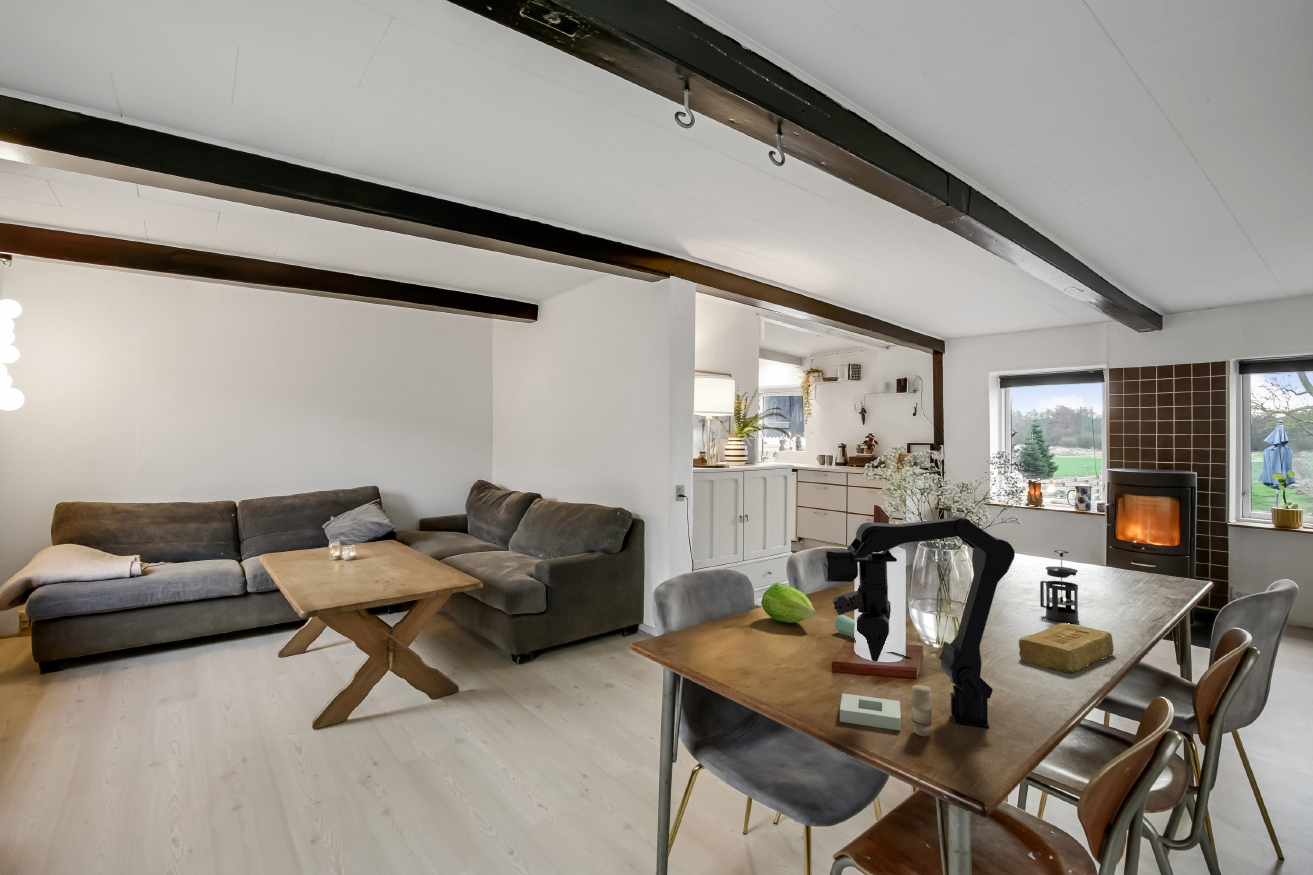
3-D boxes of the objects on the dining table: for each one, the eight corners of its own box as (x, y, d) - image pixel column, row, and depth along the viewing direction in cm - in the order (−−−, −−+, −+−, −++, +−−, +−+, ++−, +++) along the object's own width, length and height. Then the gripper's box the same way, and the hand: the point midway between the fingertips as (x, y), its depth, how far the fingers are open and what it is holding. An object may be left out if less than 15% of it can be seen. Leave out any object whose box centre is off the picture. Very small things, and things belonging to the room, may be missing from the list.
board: (899, 712, 134) (899, 700, 134) (900, 730, 125) (900, 718, 125) (842, 704, 138) (842, 693, 138) (839, 721, 130) (839, 709, 130)
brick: (1017, 664, 167) (1015, 638, 167) (1062, 645, 181) (1060, 621, 182) (1073, 676, 155) (1070, 648, 156) (1115, 655, 170) (1113, 629, 171)
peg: (931, 730, 126) (930, 686, 126) (932, 738, 122) (932, 693, 122) (911, 727, 127) (911, 683, 127) (912, 735, 123) (912, 690, 124)
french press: (1086, 621, 202) (1086, 551, 202) (1072, 625, 197) (1071, 554, 197) (1048, 613, 212) (1048, 546, 212) (1034, 617, 207) (1033, 549, 207)
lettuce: (795, 635, 188) (795, 596, 188) (753, 619, 205) (753, 583, 205) (828, 628, 195) (828, 590, 195) (785, 613, 212) (785, 578, 212)
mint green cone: (904, 640, 166) (834, 615, 190) (904, 660, 166) (834, 633, 190) (918, 637, 169) (847, 613, 193) (918, 657, 169) (847, 631, 193)
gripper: (839, 571, 144) (841, 637, 144) (830, 589, 127) (832, 664, 127) (889, 573, 140) (891, 641, 140) (887, 592, 123) (890, 670, 123)
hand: (875, 653), depth 133 cm, fingers open, 9 cm apart
